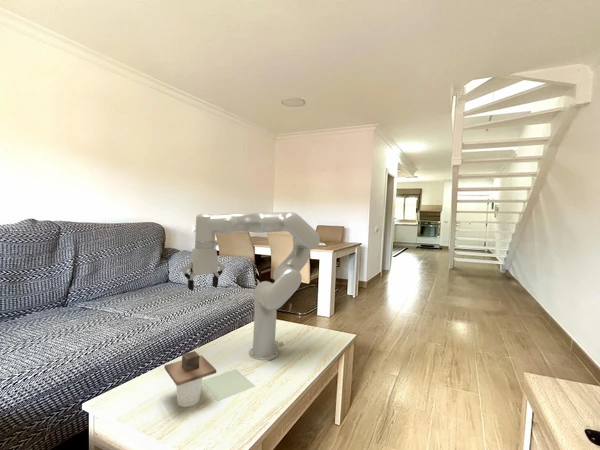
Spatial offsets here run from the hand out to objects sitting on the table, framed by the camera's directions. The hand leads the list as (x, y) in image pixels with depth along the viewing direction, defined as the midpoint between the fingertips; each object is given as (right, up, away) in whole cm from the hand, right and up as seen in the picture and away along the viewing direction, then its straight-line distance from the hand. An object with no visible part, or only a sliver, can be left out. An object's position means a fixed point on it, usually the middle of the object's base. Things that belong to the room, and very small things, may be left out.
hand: (203, 288), depth 114 cm
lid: (+4, -21, -23) cm, 31 cm away
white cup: (+3, -31, -23) cm, 39 cm away
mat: (+13, -31, -13) cm, 36 cm away
